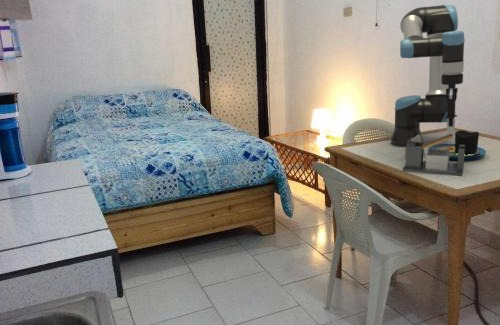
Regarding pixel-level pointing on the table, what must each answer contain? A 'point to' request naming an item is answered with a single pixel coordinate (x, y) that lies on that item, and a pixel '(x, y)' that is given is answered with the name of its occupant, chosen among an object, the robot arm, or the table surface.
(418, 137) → the electrical switch
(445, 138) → the strap
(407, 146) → the base
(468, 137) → the pen holder
